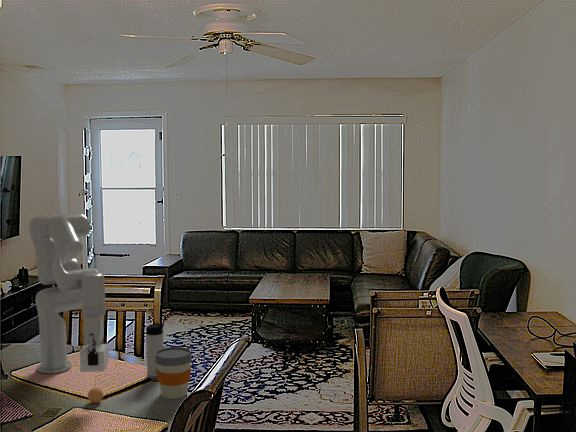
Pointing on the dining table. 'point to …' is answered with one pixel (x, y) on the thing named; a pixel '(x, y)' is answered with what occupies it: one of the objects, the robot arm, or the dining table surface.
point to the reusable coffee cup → (173, 371)
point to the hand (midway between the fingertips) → (95, 360)
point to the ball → (95, 395)
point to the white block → (102, 359)
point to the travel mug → (153, 347)
